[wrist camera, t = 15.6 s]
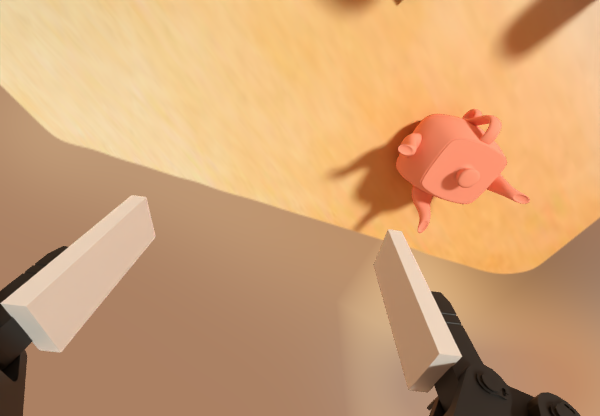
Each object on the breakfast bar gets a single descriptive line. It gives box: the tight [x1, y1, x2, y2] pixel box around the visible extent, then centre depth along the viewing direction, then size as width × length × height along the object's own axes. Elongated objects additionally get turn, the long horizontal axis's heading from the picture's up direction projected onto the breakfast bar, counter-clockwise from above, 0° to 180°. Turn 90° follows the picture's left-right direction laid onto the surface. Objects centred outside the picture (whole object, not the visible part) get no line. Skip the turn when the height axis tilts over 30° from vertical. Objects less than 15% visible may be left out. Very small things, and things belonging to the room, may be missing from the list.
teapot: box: [396, 109, 530, 233], centre depth 35 cm, size 14×14×11 cm
